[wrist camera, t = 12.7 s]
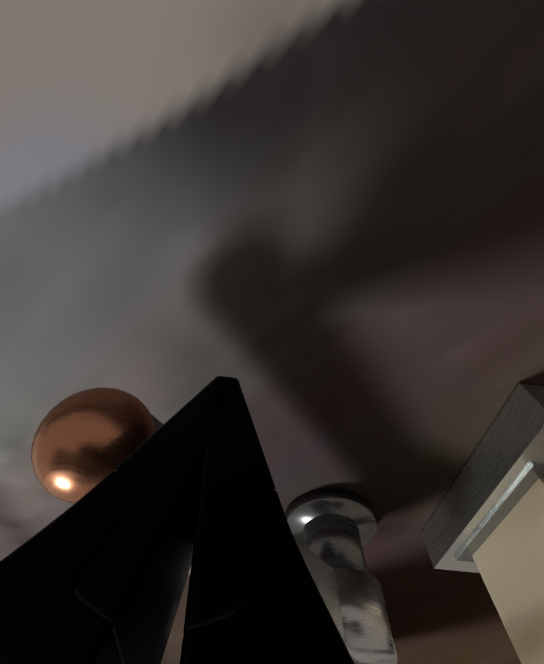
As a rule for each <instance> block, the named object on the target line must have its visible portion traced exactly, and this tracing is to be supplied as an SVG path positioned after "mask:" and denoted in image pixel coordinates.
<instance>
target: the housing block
mask: <svg viewBox="0 0 544 664" xmlns="http://www.w3.org/2000/svg"><path fill="white" fill-rule="evenodd" d="M472 557H473V559H474V561H475V564H476V566H477V568H478V570H479V572H480V574H481V577H482V579H483V581H484V583H485V585H486V587H487V590H488V592H489V594H490V596H491V598H492V600H493V603H494V605H495V607H496V609H497V611H498V613H499V616H500V618H501V620H502V622H503V624H504V626H505V629H506V631H507V633H508V635H509V637H510V639H511V642H512V644H513V646H514V648H515V650H516V652H517V655H518V657H519V659H520V661H521V663H522V664H544V479H541V478H539V479H538V480H537V481H536V482H535V484H534V485H533V486H532V487H531V488H530V489H529V490H528V492H527V493H526V494H525V495H524V496H523V497H522V499H521V500H520V501H519V502H518V503H517V504H516V506H515V507H514V508H513V509H512V510H511V511H510V513H509V514H508V515H507V516H506V517H505V518H504V520H503V521H502V522H501V523H500V524H499V525H498V527H497V528H496V529H495V530H494V531H493V532H492V534H491V535H490V536H489V537H488V538H487V539H486V541H485V542H484V543H483V544H482V545H481V546H480V548H479V549H478V550H477V551H476V552H475V553H474V554H473V556H472Z"/></svg>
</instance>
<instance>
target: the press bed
mask: <svg viewBox="0 0 544 664" xmlns="http://www.w3.org/2000/svg"><path fill="white" fill-rule="evenodd" d="M539 478H541V479H544V386H538V385H530V384H522V383H519V384H518V385H517V387H516V388H515V390H514V392H513V393H512V395H511V396H510V398H509V399H508V401H507V402H506V404H505V405H504V407H503V408H502V410H501V411H500V413H499V414H498V416H497V417H496V419H495V421H494V422H493V424H492V425H491V427H490V428H489V430H488V431H487V433H486V434H485V436H484V437H483V439H482V440H481V442H480V443H479V445H478V446H477V448H476V449H475V451H474V453H473V454H472V456H471V457H470V459H469V460H468V462H467V463H466V465H465V466H464V468H463V469H462V471H461V472H460V474H459V475H458V477H457V478H456V480H455V481H454V483H453V485H452V486H451V488H450V489H449V491H448V492H447V494H446V495H445V497H444V498H443V500H442V501H441V503H440V504H439V506H438V507H437V509H436V510H435V512H434V514H433V515H432V517H431V518H430V520H429V521H428V523H427V524H426V526H425V527H424V529H423V530H422V532H421V534H422V537H423V539H424V542H425V545H426V548H427V551H428V553H429V556H430V559H431V562H432V564H433V567H434V569H444V570H454V571H465V572H475V573H480V572H479V570H478V568H477V566H476V564H475V561H474V559H473V557H472V556H473V554H474V553H475V552H476V551H477V550H478V549H479V548H480V546H481V545H482V544H483V543H484V542H485V541H486V539H487V538H488V537H489V536H490V535H491V534H492V532H493V531H494V530H495V529H496V528H497V527H498V525H499V524H500V523H501V522H502V521H503V520H504V518H505V517H506V516H507V515H508V514H509V513H510V511H511V510H512V509H513V508H514V507H515V506H516V504H517V503H518V502H519V501H520V500H521V499H522V497H523V496H524V495H525V494H526V493H527V492H528V490H529V489H530V488H531V487H532V486H533V485H534V484H535V482H536V481H537V480H538V479H539Z"/></svg>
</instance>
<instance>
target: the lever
mask: <svg viewBox="0 0 544 664" xmlns="http://www.w3.org/2000/svg"><path fill="white" fill-rule="evenodd" d="M162 426H163V424H162V423H161V422H160V421H159V420H158V419H156V418H155V417H154V416H153V415H152V414H150V412H149V410H148V409H147V407H146V406H145V405H144V404H143V403H142V402H141V401H140V400H139V399H138V398H136V397H135V396H133V395H131V394H129V393H127V392H125V391H122V390H119V389H114V388H93V389H88V390H84V391H81V392H78V393H75V394H73V395H71V396H69V397H67V398H66V399H64V400H62V401H61V402H60V403H58V404H57V405H56V406H55V407H54V408H53V409H52V410H51V411H50V412H49V413H48V414H47V415H46V416H45V418H44V419H43V420H42V422H41V423H40V425H39V427H38V429H37V431H36V433H35V436H34V439H33V443H32V449H31V461H32V466H33V470H34V473H35V475H36V477H37V479H38V481H39V482H40V484H41V485H42V486H43V487H44V488H45V489H46V490H47V491H48V492H49V493H50V494H51V495H53V496H55V497H56V498H58V499H61V500H63V501H66V502H70V503H74V504H75V503H76V502H77V501H78V500H80V499H81V498H82V497H83V496H84V495H85V494H87V493H88V492H89V491H90V490H91V489H92V488H94V487H95V486H96V485H97V484H98V483H99V482H100V481H101V480H103V479H104V478H105V477H106V476H107V475H108V474H109V473H110V472H111V471H115V468H116V467H117V466H118V465H119V464H121V463H122V462H123V461H124V460H125V459H126V458H127V457H128V456H129V455H131V454H132V453H133V452H134V451H135V450H136V449H137V448H138V447H139V446H141V445H142V444H143V443H144V442H145V441H146V440H147V439H148V438H149V437H150V436H152V435H153V434H154V433H155V432H156V431H157V430H158V429H159V428H160V427H162ZM293 537H294V539H295V541H296V543H297V545H298V548H299V550H300V552H301V554H302V556H303V559H304V561H305V563H306V565H307V567H308V569H309V571H310V573H311V576H312V578H313V580H314V582H315V584H316V586H317V588H318V590H319V592H320V594H321V596H322V598H323V600H324V602H325V604H326V606H327V608H328V610H329V612H330V614H331V616H332V618H333V621H334V623H335V625H336V627H337V629H338V631H339V633H340V635H341V637H342V639H343V641H344V643H345V645H346V647H347V649H348V651H349V653H350V655H351V657H352V659H353V661H354V663H355V664H396V663H397V660H398V659H397V654H396V650H395V645H394V641H393V636H392V632H391V628H390V623H389V619H388V614H387V610H386V605H385V601H384V597H383V592H382V588H381V584H380V582H379V580H378V579H377V578H375V577H374V576H372V575H371V574H369V573H366V572H363V571H360V570H355V569H346V568H335V569H332V568H331V567H330V566H329V565H328V564H327V563H325V562H324V561H323V560H322V559H321V558H320V557H318V556H317V555H316V554H315V553H314V552H312V551H311V550H310V549H309V548H308V547H307V546H305V545H304V544H303V543H302V542H301V541H300V540H298V539H297V538H296V537H295V536H294V535H293ZM190 571H191V567H190V570H189V573H188V574H189V575H190Z"/></svg>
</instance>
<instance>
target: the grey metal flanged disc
mask: <svg viewBox="0 0 544 664" xmlns="http://www.w3.org/2000/svg"><path fill="white" fill-rule="evenodd" d="M285 516H286V518H287V521H288V524H289V526H290V529H291V531H292V534H293V535H294V536H295V537H296V538H297V539H298V540H300V541H301V542H302V543H303V544H304V545H305V546H307V547H308V548H309V549H310V550H311V551H312V552H314V553H315V554H316V555H317V556H318V557H320V558H321V559H322V560H323V561H324V562H325V563H327V564H328V565H329V566H330V567H331V568H332V569H335V568H346V569H355V570H360V571H363V572H366V573H367V568H366V563H365V558H364V553H363V548H362V546H364V545H366V544H367V543H368V542H370V541H371V540H372V539H373V537H374V536H375V534H376V532H377V523H376V519H375V515H374V511H373V508H372V506H371V504H370V503H369V502H368V501H367V500H366V499H365V498H363V497H362V496H360V495H358V494H356V493H353V492H349V491H345V490H337V489H326V490H318V491H313V492H310V493H307V494H304V495H302V496H300V497H298V498H297V499H295V500H294V501H293V502H292V503H291V504H290V505H289V506H288V508H287V510H286V512H285Z"/></svg>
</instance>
